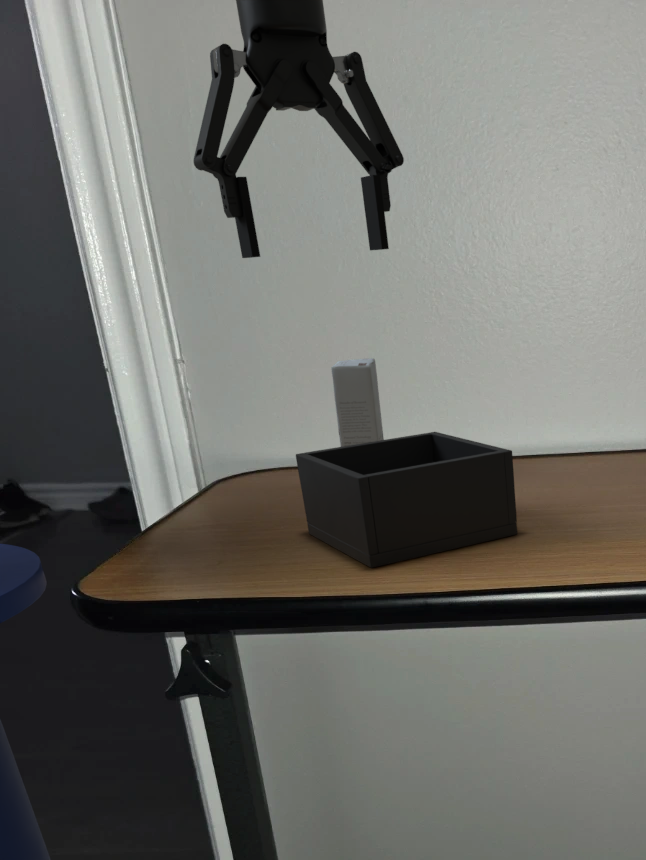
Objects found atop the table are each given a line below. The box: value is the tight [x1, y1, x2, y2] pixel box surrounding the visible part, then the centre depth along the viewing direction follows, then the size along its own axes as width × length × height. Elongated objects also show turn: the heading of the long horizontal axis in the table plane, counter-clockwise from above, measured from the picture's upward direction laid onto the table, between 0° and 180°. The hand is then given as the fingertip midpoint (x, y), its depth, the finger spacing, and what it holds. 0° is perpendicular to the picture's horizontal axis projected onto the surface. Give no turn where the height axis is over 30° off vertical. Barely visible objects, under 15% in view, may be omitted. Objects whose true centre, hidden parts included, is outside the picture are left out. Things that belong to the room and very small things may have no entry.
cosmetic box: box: [330, 357, 385, 447], centre depth 100 cm, size 6×4×12 cm
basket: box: [295, 431, 518, 569], centre depth 79 cm, size 14×14×7 cm
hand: (317, 254), depth 91 cm, fingers open, 13 cm apart
